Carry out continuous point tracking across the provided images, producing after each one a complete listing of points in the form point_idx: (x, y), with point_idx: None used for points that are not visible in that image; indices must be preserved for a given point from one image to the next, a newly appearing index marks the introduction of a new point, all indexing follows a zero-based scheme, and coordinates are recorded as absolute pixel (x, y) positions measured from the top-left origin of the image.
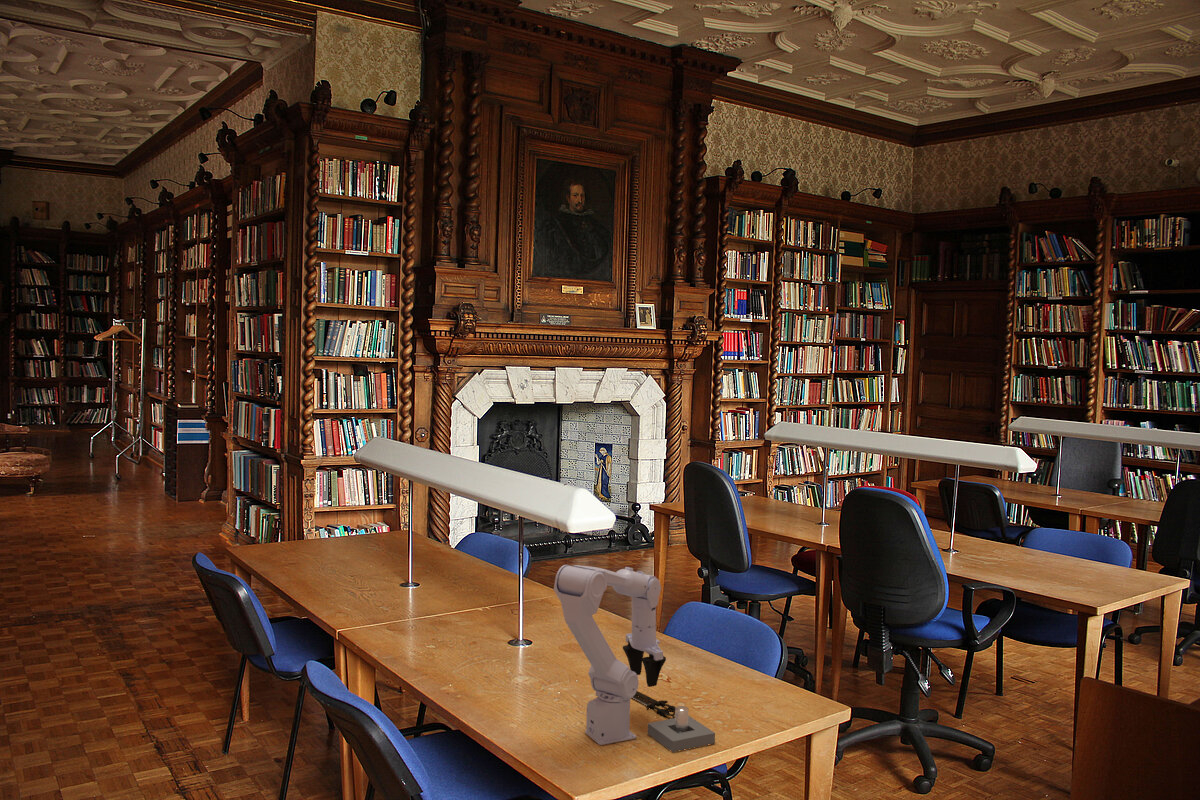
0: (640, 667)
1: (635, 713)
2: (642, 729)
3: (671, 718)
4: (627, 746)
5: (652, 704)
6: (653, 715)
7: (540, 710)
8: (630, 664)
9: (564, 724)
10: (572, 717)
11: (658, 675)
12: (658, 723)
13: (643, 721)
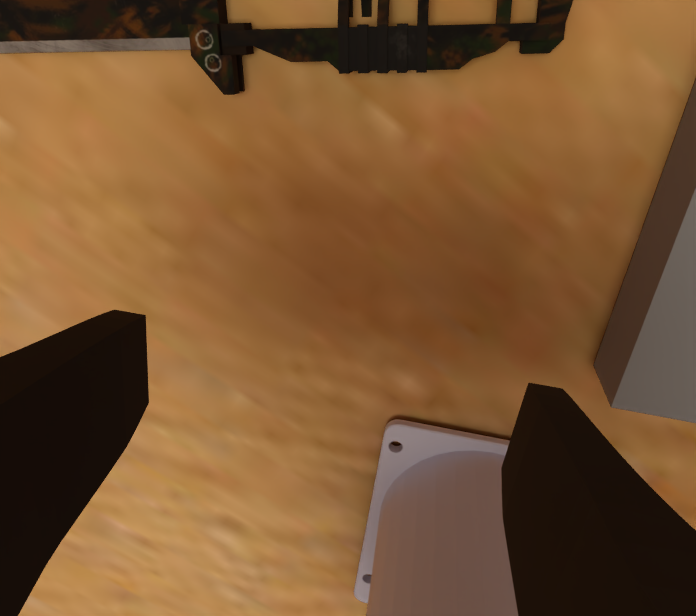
0: (93, 360)
1: (259, 209)
2: (512, 343)
3: (523, 53)
4: None
5: (207, 12)
6: (359, 118)
7: None
8: (59, 531)
9: (213, 589)
10: (149, 520)
11: (633, 478)
12: (674, 352)
13: (408, 254)
